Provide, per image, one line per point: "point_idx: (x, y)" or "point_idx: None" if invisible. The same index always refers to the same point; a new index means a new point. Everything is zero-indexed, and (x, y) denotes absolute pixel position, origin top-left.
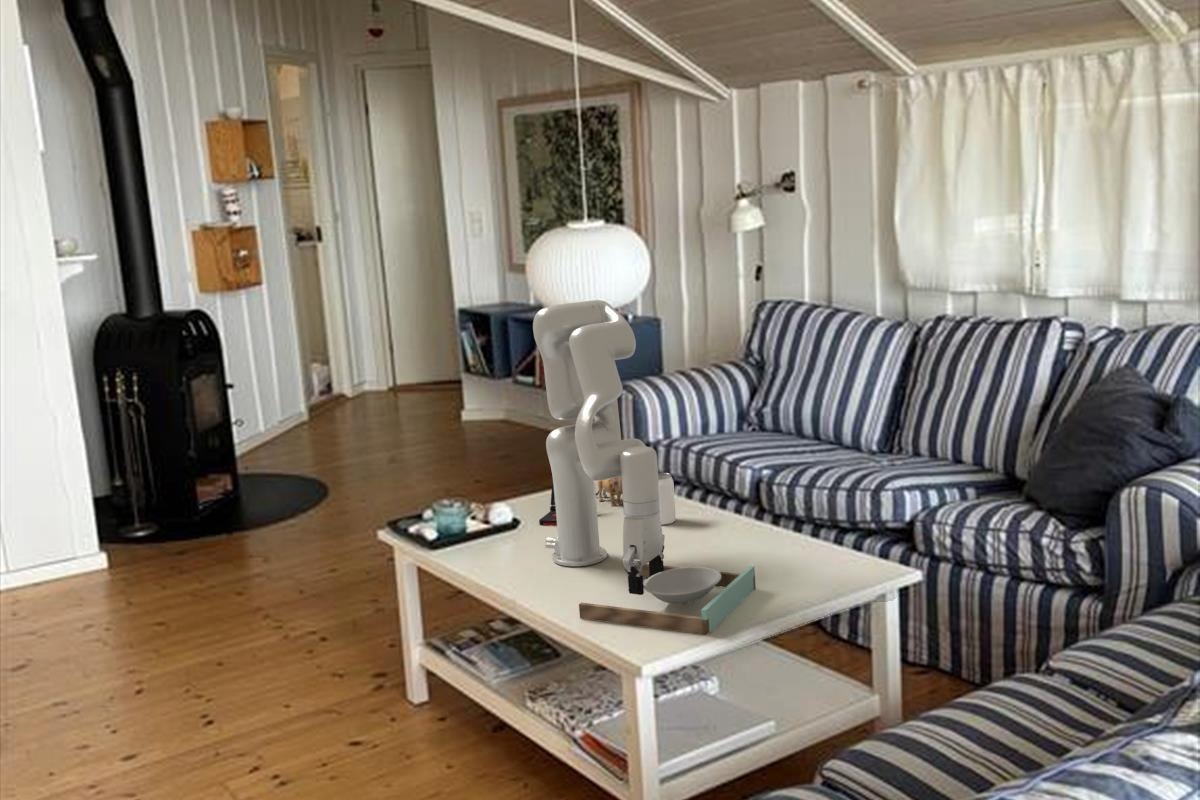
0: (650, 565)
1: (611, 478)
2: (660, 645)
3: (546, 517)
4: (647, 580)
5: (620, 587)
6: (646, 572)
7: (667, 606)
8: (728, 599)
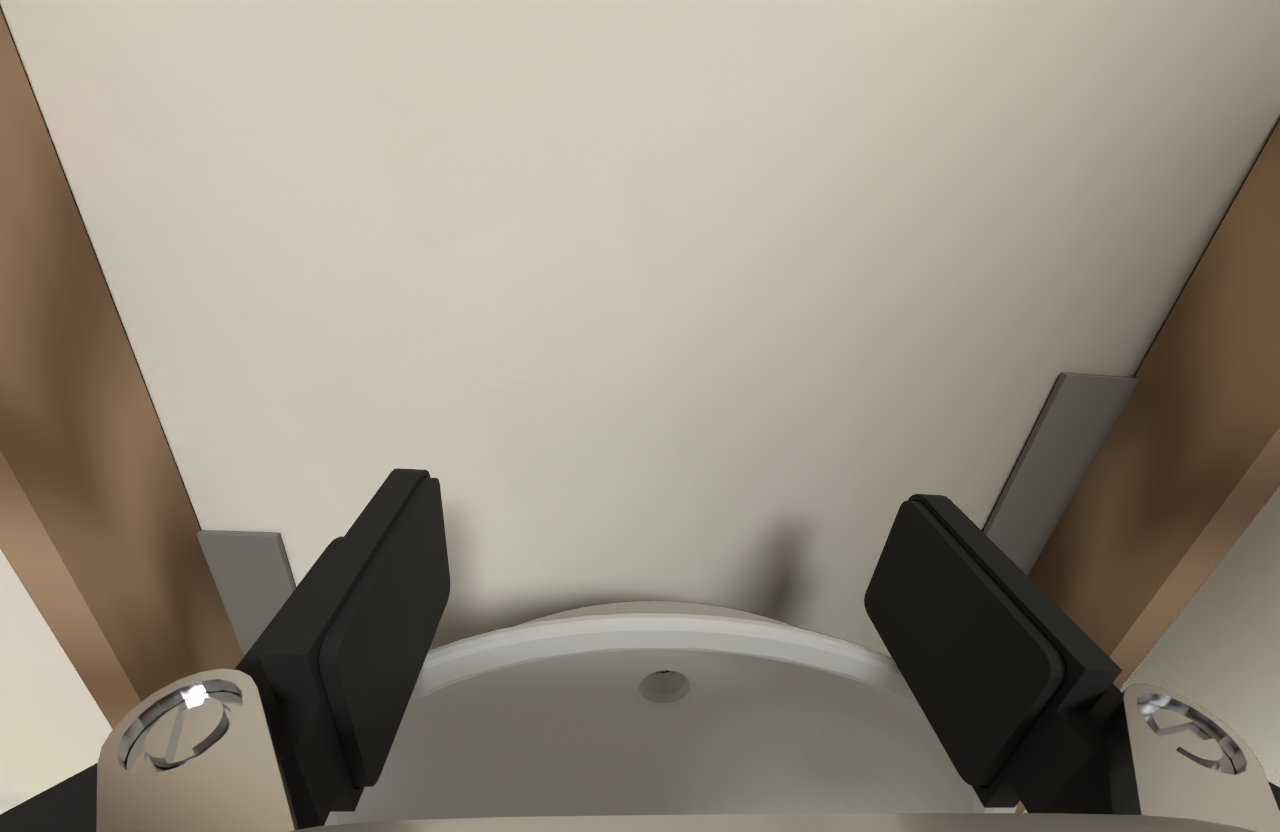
0: (992, 617)
1: None
2: (21, 741)
3: None
4: (592, 647)
5: (985, 59)
6: (1273, 272)
7: (582, 601)
8: None
